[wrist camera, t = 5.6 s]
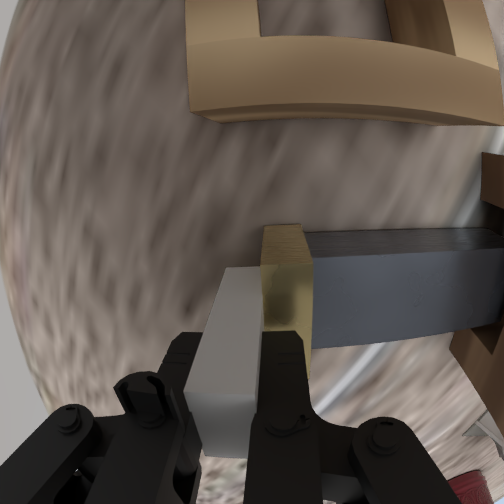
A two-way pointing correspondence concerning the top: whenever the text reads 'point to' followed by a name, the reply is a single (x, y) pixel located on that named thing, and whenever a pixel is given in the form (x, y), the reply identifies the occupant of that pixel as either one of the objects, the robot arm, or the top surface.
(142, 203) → the top surface
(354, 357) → the top surface
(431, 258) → the bar
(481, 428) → the skyscraper
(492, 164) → the socket block
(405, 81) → the wooden square frame
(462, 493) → the canister
